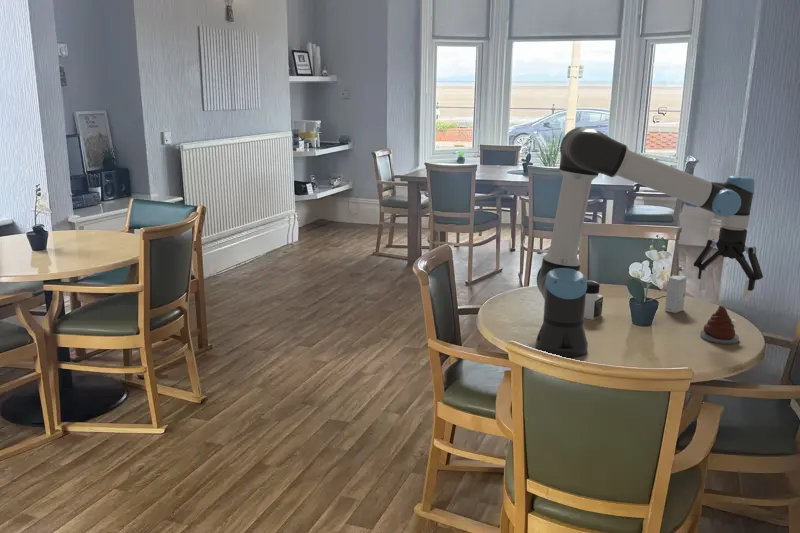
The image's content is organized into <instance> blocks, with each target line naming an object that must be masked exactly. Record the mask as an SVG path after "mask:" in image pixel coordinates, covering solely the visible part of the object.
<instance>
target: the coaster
mask: <svg viewBox="0 0 800 533" xmlns="http://www.w3.org/2000/svg"><path fill="white" fill-rule="evenodd" d="M699 335H700V338H701V339H702V340H704V341H707V342H709V343H714V344H719V345H735V344H737V343H739V335H738V334H737V333H735V337H734V338H733V339H728V340H723V339H717V338H714V337H713V336H711V335H710V334H707V333H705V332H704V329H701V330H700V333H699Z"/></svg>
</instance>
